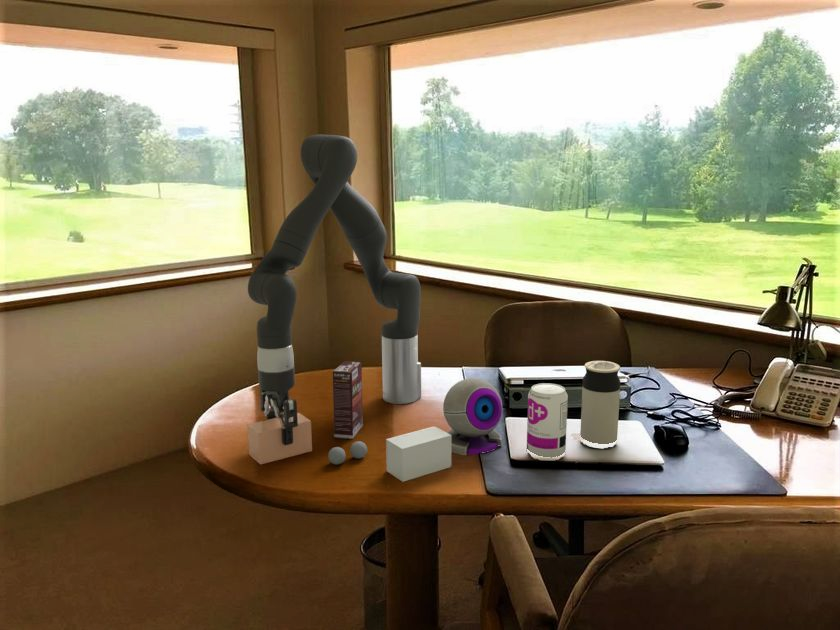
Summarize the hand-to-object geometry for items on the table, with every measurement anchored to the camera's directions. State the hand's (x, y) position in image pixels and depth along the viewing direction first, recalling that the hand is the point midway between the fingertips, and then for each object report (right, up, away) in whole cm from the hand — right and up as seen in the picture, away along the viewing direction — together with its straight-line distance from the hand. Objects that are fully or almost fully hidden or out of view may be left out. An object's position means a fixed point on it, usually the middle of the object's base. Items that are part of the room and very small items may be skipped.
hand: (280, 438), depth 158 cm
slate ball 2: (+17, -4, -2) cm, 18 cm away
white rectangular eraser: (+30, -5, -8) cm, 31 cm away
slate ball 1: (+13, -5, -5) cm, 15 cm away
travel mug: (+70, -2, +5) cm, 70 cm away
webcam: (+42, -2, +5) cm, 42 cm away
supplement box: (+14, -1, +12) cm, 18 cm away
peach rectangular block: (0, -3, +1) cm, 3 cm away
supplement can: (+57, -4, -1) cm, 57 cm away
